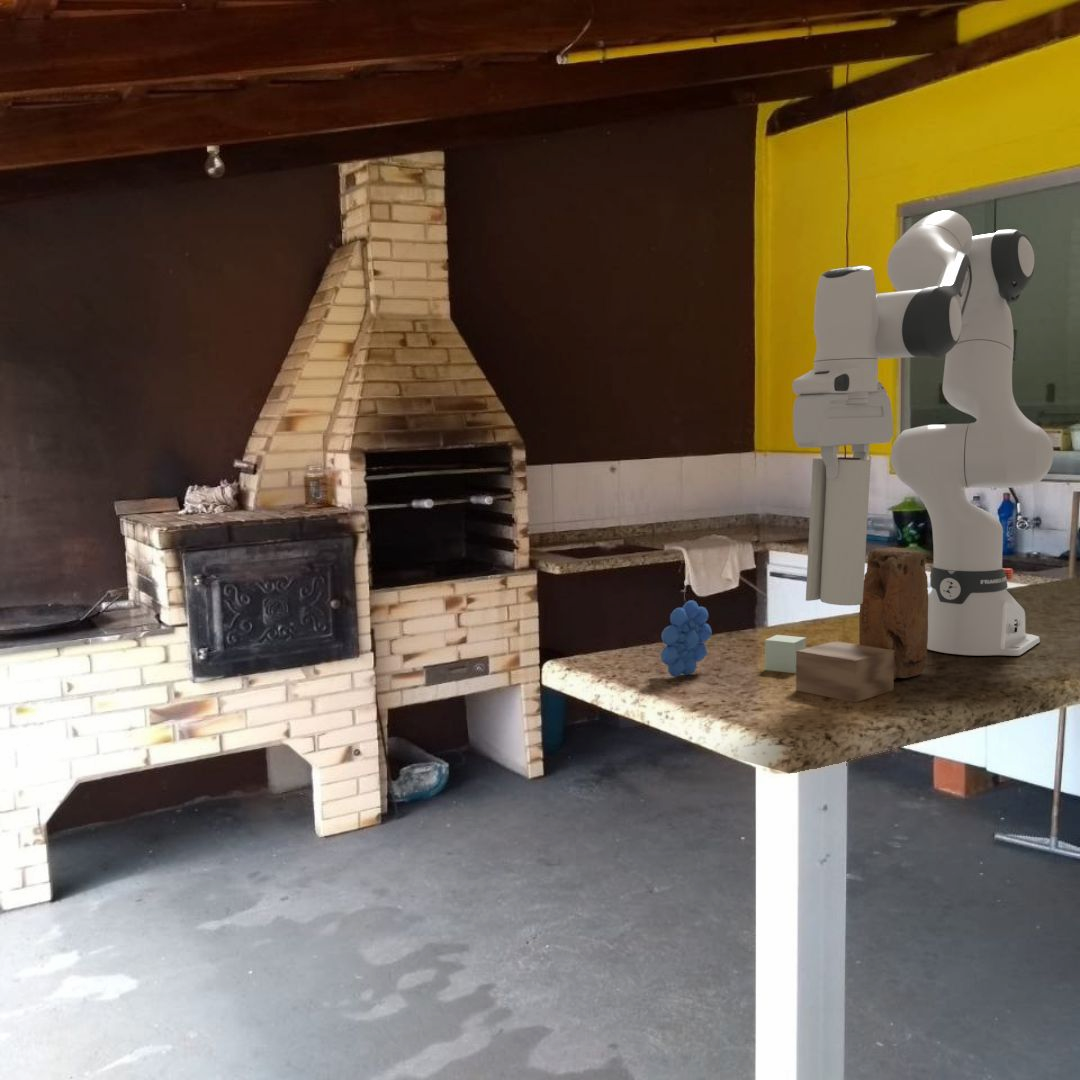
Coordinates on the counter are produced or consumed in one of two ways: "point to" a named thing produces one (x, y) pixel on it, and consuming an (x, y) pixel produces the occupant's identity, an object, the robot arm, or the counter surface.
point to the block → (896, 607)
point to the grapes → (685, 639)
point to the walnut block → (845, 671)
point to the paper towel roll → (838, 532)
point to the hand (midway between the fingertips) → (845, 477)
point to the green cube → (783, 652)
